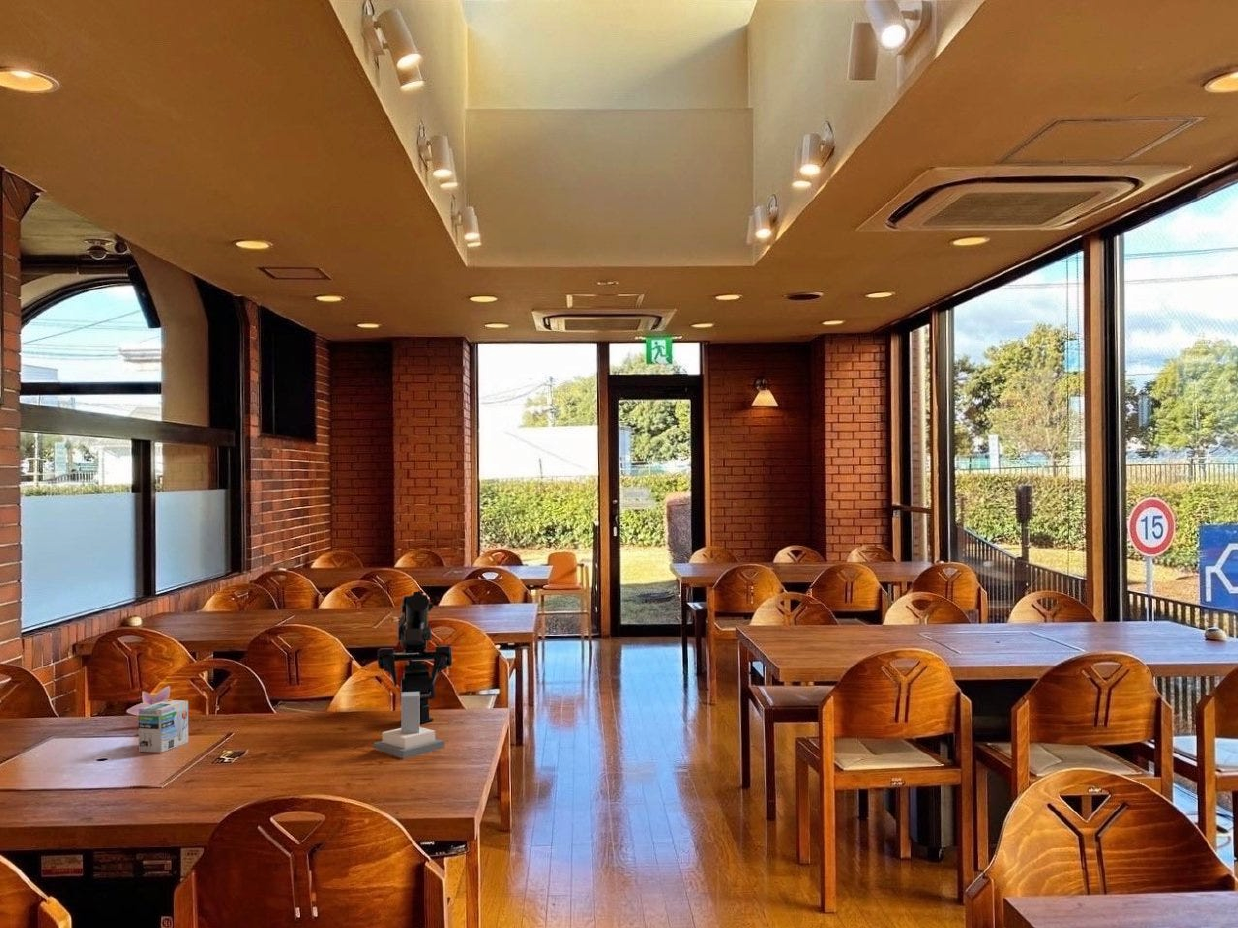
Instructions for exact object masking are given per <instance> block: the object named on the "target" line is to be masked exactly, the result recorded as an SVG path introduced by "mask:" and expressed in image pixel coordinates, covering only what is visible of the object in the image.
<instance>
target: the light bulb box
mask: <svg viewBox="0 0 1238 928" xmlns="http://www.w3.org/2000/svg"><path fill="white" fill-rule="evenodd" d="M188 743H189V700H180V699H178V700H177V699H169V700H164V701H161V702H158V703H155V704H152V705H149V706H146V707H143V708H140V709H139V716H138V752H139V753H152V754H153V753H154V754H155V753H156V754H163V753H164V752H167V751H170V750H172V749H175V748H178V747H181V746H182V745H185V744H188Z"/></svg>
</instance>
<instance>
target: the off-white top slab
mask: <svg viewBox="0 0 1238 928" xmlns="http://www.w3.org/2000/svg"><path fill="white" fill-rule="evenodd" d="M381 735H382V741H383V743H386V744H390V745H393V746H397V747H401V748H404V749H406V748H410V747H414V746H418V745H422V744H425V743H429V742H433V741H435V739H436V730H435V729H434V730H433V729H429V728H426V727H423V726H422V727H421V726H420V729H419V733H406V734H401V727H399V728H395V729H390V730H386V731H383V732H382V734H381Z"/></svg>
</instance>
